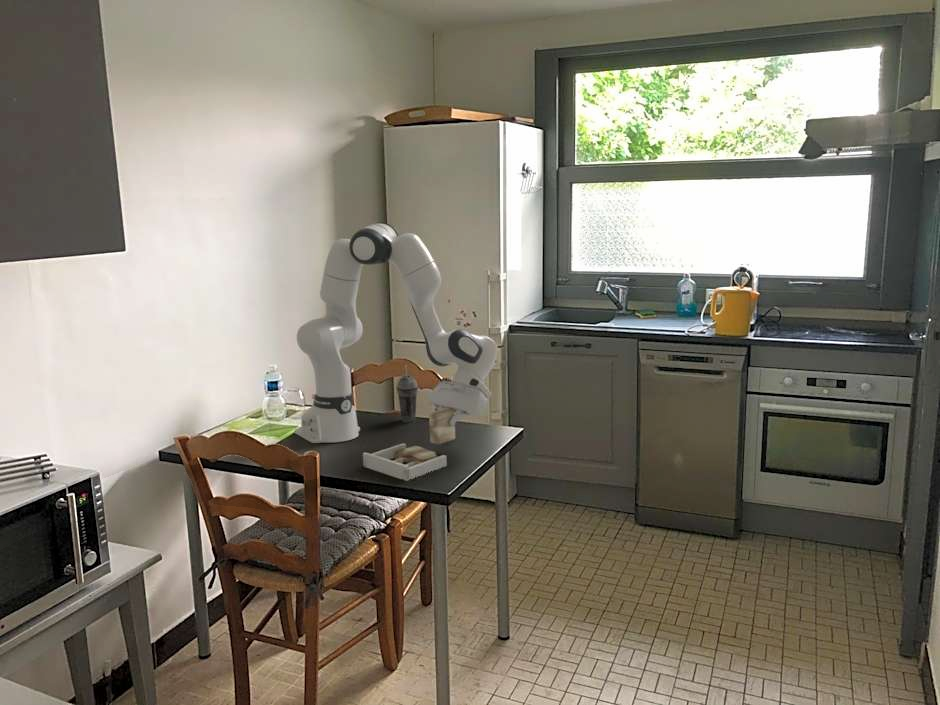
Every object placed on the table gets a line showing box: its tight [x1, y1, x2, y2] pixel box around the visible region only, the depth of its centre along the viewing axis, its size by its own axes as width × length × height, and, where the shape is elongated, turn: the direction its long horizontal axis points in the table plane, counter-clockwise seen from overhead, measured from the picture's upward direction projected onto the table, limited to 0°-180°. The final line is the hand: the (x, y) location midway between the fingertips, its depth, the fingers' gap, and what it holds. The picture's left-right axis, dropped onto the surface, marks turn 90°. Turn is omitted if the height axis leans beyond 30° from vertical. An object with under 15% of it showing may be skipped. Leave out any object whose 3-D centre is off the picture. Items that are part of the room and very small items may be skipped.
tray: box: [362, 443, 448, 482], centre depth 222 cm, size 18×16×4 cm
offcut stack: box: [394, 445, 438, 465], centre depth 226 cm, size 14×6×4 cm, turn 47°
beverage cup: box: [396, 363, 419, 423], centre depth 266 cm, size 7×7×20 cm
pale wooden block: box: [428, 408, 456, 445], centre depth 232 cm, size 4×7×9 cm, turn 137°
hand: (444, 422), depth 232 cm, fingers closed on pale wooden block, 3 cm apart
